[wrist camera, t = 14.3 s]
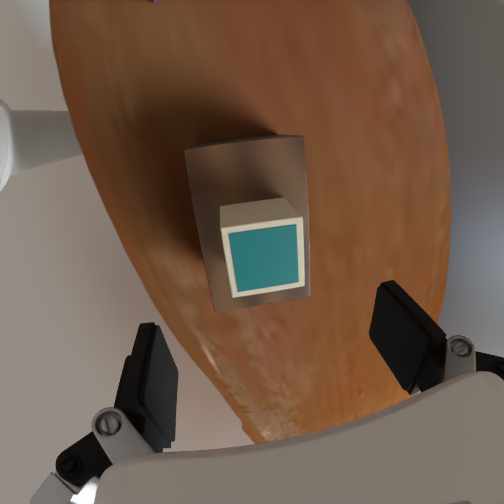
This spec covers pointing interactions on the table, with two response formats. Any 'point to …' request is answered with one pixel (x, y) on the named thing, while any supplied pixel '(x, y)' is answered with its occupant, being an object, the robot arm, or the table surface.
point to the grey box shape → (245, 190)
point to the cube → (262, 246)
